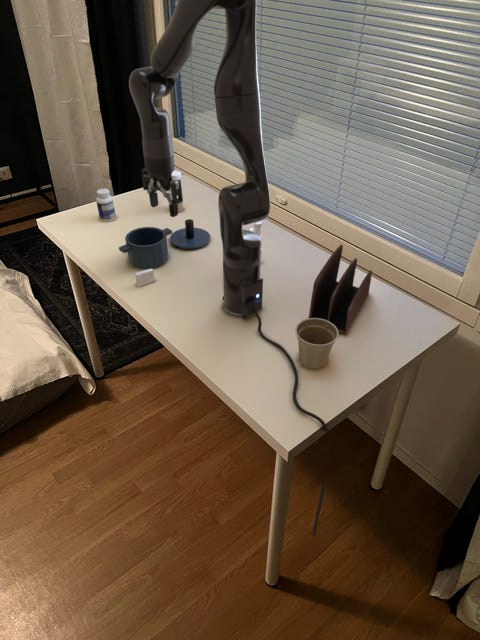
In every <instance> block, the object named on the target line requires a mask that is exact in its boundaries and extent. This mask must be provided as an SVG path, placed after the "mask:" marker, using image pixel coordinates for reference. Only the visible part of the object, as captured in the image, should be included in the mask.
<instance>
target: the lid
mask: <svg viewBox="0 0 480 640" xmlns="http://www.w3.org/2000/svg"><path fill="white" fill-rule="evenodd" d="M194 222H195V221H194V220H193V219H191V218H189V219H185V221H184V224H185V225H184V227H183V228H180V229H177V230H175V231H173V232H172V234H170V236H169V241H170V243H171V244H172V245H173V246H174V247H177V248H180V249H185V250H193V249H199V248H203V247H204V246H206V245H208V244H209V242H210V241H211V234H210V233H209V232H208V230H206V229H203V228H200V227H195V224H194Z"/></svg>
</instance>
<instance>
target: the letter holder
mask: <svg viewBox="0 0 480 640" xmlns="http://www.w3.org/2000/svg"><path fill="white" fill-rule="evenodd" d="M343 249H344V245H343V244H339V245H338V247H337V248H336V249H335V250H334V251H333V253H332V254H331V255H330V256H329V258H328V260H327V261H326V262H325V264H324V265H323V267H322V268H321V269H320V271H319V273H318V274H317V276H316V278H315V280H314V282H313V287H312V293H311V298H310V299H311V300H310V307H309V312H308V313H309V314H308V318H319V319H324V320H327V321H329V322H331V323H332V324H333V325H335V326H336V328H337V329H338V332H339V334H340V335H344V336H346V335H347V333H348V332H349V330H350V328H351V327H352V324H353V323H354V321H355V319H356V317H357V316H358V314H359V312H360V310H361V309H362V307H363V305H364V303H365V301H366V299H367V298H368V296H369V294H370V287H371V283H372V282H371V281H372V276H373V270H371V269H369V271H368V272H367V274H366V275H365V277H364V278H363V280H362V281H361V283H360V285H359V287H357V286H354V282H355V281H354V280H355V274H356V269H357V265H358V264H357V263H358V258H357V257H355V258H353V260H352V261H351V262H350V264H349V265H348V267H347V268H346V269H345V271H344V272H343V274H342V275H341V277H340V279H339V281H337V280H338V275H339V269H340V266H341V265H340V264H341V259H342V254H343Z"/></svg>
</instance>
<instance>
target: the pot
mask: <svg viewBox="0 0 480 640" xmlns="http://www.w3.org/2000/svg"><path fill="white" fill-rule="evenodd" d="M172 233H173V229H170V228H169V227H166V228H163V229H161V228H158V227H154V226H143V227H142V226H141V227H137V228H134V229H132V230H130V231H129V232H128V233H126V235H125V236H124V240H125V244H124V245H121V246H119V247H118V250H119V252H121V253H122V254H126V253H127V259H128V263H129V265H131V267H133V268H135V269H140V270H148V269H151V268H152V269H153V270H154V269H157V268H160V267H162V266H164V265H165V264H167V262H168V260H169V246H168V238H167V237H168V236H169V235H170V236H171V234H172Z"/></svg>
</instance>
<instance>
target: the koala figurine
mask: <svg viewBox="0 0 480 640" xmlns="http://www.w3.org/2000/svg"><path fill="white" fill-rule="evenodd" d="M264 223H265V221H264V220H262V221H259V222H255V223H253V227H249V228H247V230H249V231H252V232H254V233H256V234H257V235H258V236H259V237H260V238H261V241H262V240H263V234H262V226H263V225H264ZM261 254H263V246H262V245H261ZM261 263H263V259H261Z"/></svg>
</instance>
